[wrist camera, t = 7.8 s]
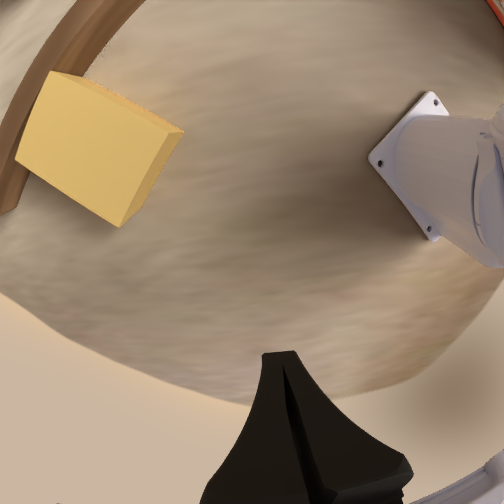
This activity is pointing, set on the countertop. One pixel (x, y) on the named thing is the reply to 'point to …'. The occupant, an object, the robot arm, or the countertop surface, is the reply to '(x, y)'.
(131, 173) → the ochre block
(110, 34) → the walnut board
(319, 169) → the countertop surface
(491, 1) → the cracker box
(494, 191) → the robot arm
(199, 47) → the countertop surface
